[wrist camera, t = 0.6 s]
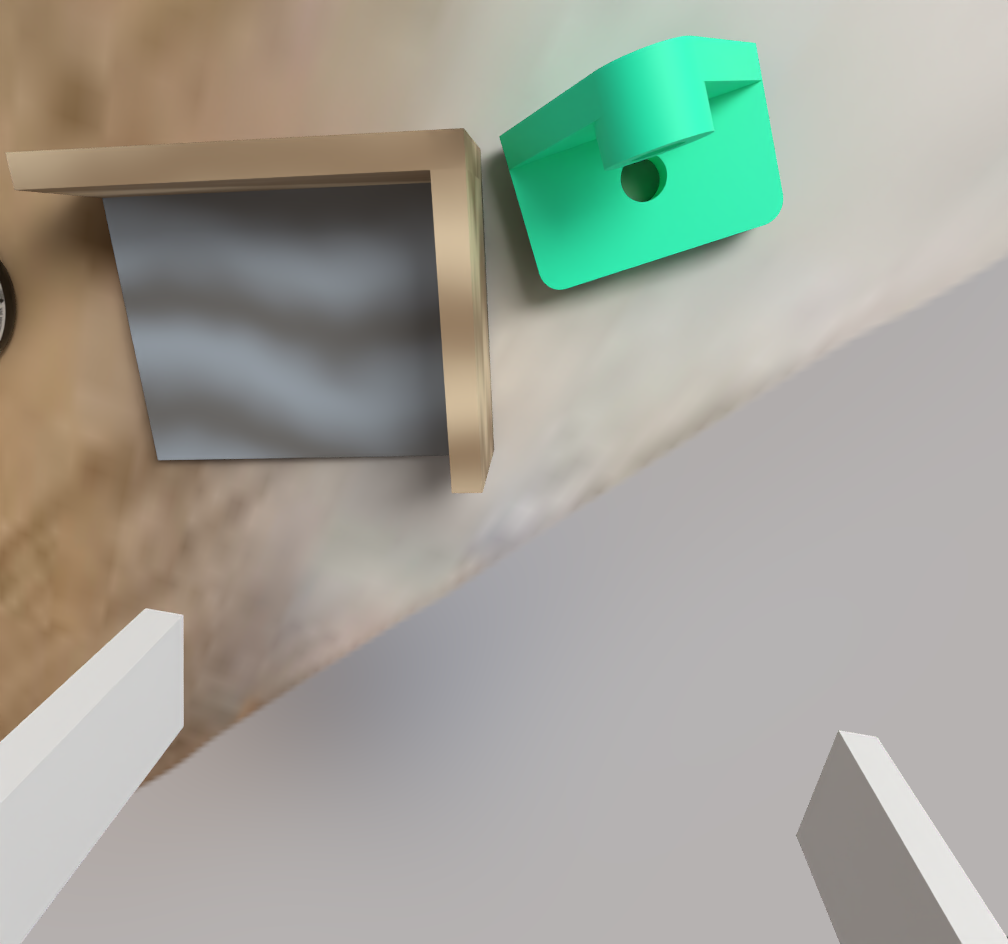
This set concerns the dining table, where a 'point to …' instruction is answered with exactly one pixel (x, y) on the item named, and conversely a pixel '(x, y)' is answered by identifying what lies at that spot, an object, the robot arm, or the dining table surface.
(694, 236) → the camera mount
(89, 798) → the robot arm
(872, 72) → the dining table surface
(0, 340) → the ink bottle
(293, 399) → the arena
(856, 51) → the dining table surface
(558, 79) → the dining table surface
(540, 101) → the dining table surface
